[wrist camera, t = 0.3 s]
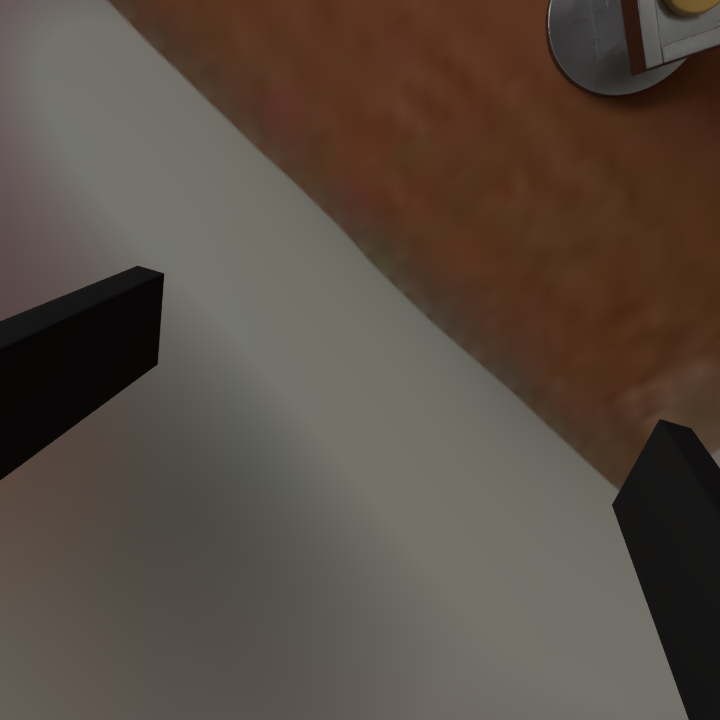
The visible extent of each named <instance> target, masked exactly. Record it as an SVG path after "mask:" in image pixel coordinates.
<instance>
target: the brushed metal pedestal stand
mask: <svg viewBox="0 0 720 720" xmlns="http://www.w3.org/2000/svg"><path fill="white" fill-rule="evenodd" d="M546 38H547V44H548V48H549V52H550V55H551V57H552V60H553V62H554V63H555V65H556V67H557V69H558V70H559V71H560V73H561V74H562V75H563V77H564V78H566V79H567V80H568V81H569V82H570V83H571V84H572V85H574V86H575V87H577V88H578V89H580V90H582V91H585V92H587V93H590V94H593V95H597V96H604V97H617V96H625V95H629V94H633V93H636V92H639V91H641V90H644V89H646V88H649V87H651V86H653V85H655V84H657V83H659V82H660V81H662V80H663V79H665V78H666V77H668V76H669V75H670V74H671V73H673V72H674V71H675V70H676V69H677V68H678V67H679V66H680V65H681V64H682V63H683V62H684V61H685V60H686V59H687V58H689V57H692V56H695V55H698V54H701V53H704V52H707V51H710V50H713V49H716V48H719V47H720V3H719V4H718V5H716V6H715V7H713V8H712V9H710V10H708V11H707V12H705V13H703V14H700V15H697V16H691V17H686V16H680V15H678V14H675V13H674V12H672V11H671V10H670V9H669V8H668V7H667V6H666V4H665V2H664V0H549V4H548V8H547V14H546Z"/></svg>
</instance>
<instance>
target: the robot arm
mask: <svg viewBox="0 0 720 720" xmlns="http://www.w3.org/2000/svg"><path fill="white" fill-rule="evenodd" d="M163 283H164V273H161V272H157V271H154V270H150V269H147V268H143V267H140V266H136V267H134V268H131V269H129V270H126V271H124V272H121V273H119V274H116V275H114V276H111V277H109V278H106V279H104V280H101V281H99V282H96V283H94V284H92V285H89V286H86V287H84V288H81V289H79V290H77V291H74V292H72V293H69V294H67V295H64V296H62V297H59V298H57V299H54V300H52V301H49V302H47V303H45V304H42V305H40V306H37V307H35V308H32V309H30V310H27V311H25V312H22V313H20V314H17V315H15V316H12V317H10V318H7V319H5V320H2V321H0V480H1V479H3V478H4V477H5V476H7V475H8V474H9V473H11V472H12V471H14V470H15V469H16V468H18V467H19V466H20V465H22V464H23V463H24V462H26V461H27V460H28V459H30V458H31V457H33V456H34V455H35V454H37V453H38V452H39V451H40V450H42V449H43V448H45V447H46V446H47V445H49V444H50V443H52V442H53V441H54V440H55V439H57V438H58V437H60V436H61V435H62V434H64V433H65V432H66V431H68V430H69V429H70V428H72V427H73V426H75V425H76V424H77V423H79V422H80V421H81V420H82V419H84V418H85V417H87V416H88V415H89V414H91V413H92V412H94V411H95V410H96V409H98V408H99V407H100V406H101V405H103V404H104V403H106V402H107V401H108V400H110V399H111V398H113V397H114V396H115V395H116V394H118V393H119V392H120V391H122V390H123V389H125V388H126V387H127V386H129V385H130V384H131V383H132V382H134V381H136V380H137V379H138V378H140V377H141V376H142V375H144V374H145V373H146V372H148V371H149V370H150V369H152V368H153V367H155V366H156V365H157V364H158V351H159V337H160V324H161V311H162V297H163ZM612 506H613V509H614V512H615V515H616V517H617V520H618V523H619V526H620V528H621V531H622V534H623V537H624V540H625V543H626V545H627V548H628V551H629V554H630V557H631V559H632V562H633V565H634V568H635V571H636V573H637V576H638V579H639V582H640V585H641V587H642V590H643V593H644V596H645V599H646V601H647V604H648V607H649V610H650V612H651V615H652V618H653V621H654V623H655V626H656V629H657V632H658V635H659V637H660V640H661V643H662V646H663V649H664V652H665V654H666V657H667V660H668V663H669V666H670V668H671V671H672V674H673V677H674V680H675V682H676V685H677V688H678V691H679V694H680V696H681V699H682V702H683V705H684V707H685V710H686V713H687V716H688V718H689V720H720V468H719V467H718V465H717V464H716V462H715V461H714V460H713V458H712V457H711V455H710V454H709V453H708V451H707V450H706V448H705V447H704V446H703V444H702V443H701V441H700V440H699V439H698V437H697V436H696V434H695V433H694V432H693V430H692V429H691V428H688V427H685V426H682V425H678V424H675V423H671V422H668V421H665V420H661V419H659V421H658V423H657V425H656V427H655V428H654V430H653V432H652V434H651V436H650V437H649V439H648V441H647V443H646V445H645V446H644V448H643V450H642V452H641V454H640V455H639V457H638V459H637V461H636V463H635V464H634V466H633V468H632V470H631V472H630V473H629V475H628V477H627V479H626V481H625V482H624V484H623V486H622V488H621V490H620V491H619V493H618V495H617V497H616V499H615V501H614V502H613V504H612Z"/></svg>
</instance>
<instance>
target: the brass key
mask: <svg viewBox="0 0 720 720" xmlns="http://www.w3.org/2000/svg"><path fill="white" fill-rule="evenodd" d="M664 2H665V4H666V6H667V7H668V8H669V9H670V10H671V11H672V12H674V13H675V14H678V15H680V16H686V17H691V16H697V15H700V14H703V13H705V12H707V11H708V10H710V9H712V8H713V7H715V6H716V5H718V4H719V3H720V0H664Z"/></svg>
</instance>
